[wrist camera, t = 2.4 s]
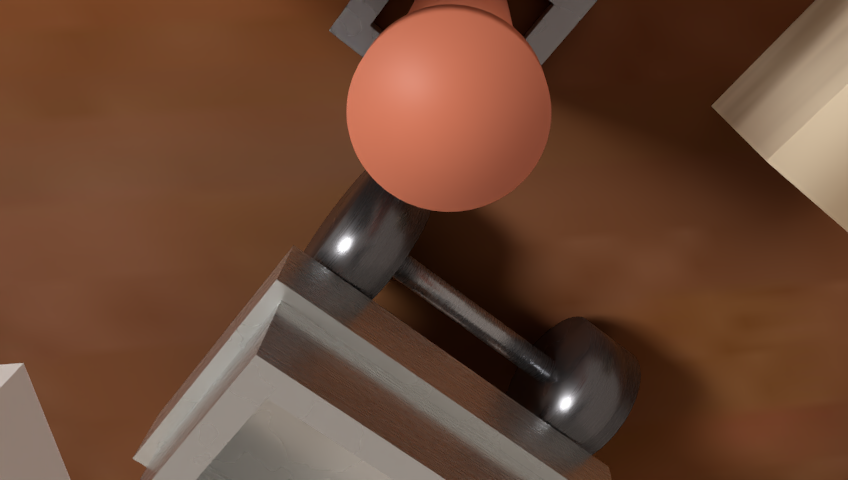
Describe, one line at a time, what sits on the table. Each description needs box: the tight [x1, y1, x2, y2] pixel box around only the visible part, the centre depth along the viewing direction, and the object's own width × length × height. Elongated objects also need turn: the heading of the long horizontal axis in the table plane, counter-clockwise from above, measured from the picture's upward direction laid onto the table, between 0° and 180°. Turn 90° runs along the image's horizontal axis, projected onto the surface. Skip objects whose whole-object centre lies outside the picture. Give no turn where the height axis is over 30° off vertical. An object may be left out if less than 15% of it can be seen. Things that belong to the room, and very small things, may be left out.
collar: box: [329, 0, 597, 65], centre depth 27 cm, size 6×6×1 cm
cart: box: [133, 170, 641, 480], centre depth 29 cm, size 14×15×10 cm
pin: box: [347, 0, 551, 212], centre depth 21 cm, size 4×4×13 cm
